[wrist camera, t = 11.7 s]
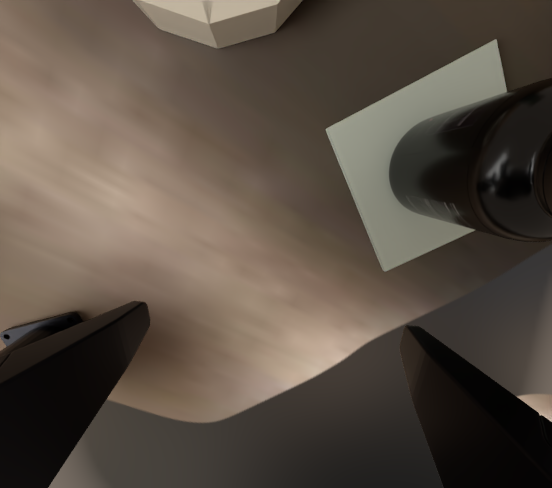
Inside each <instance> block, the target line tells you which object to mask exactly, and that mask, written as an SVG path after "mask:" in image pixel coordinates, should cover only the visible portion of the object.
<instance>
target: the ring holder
mask: <svg viewBox="0 0 552 488" xmlns="http://www.w3.org/2000/svg"><path fill="white" fill-rule="evenodd" d="M302 1H303V0H133V2H134V3H135V4H136V5H137V6H138V7H139V8H140V9H141V10H142V11H143V12H144V13H145V14H146V16H147V17H148V18H149V19H150V20H151V21H152V22H153V23H154V24H155V25H156V26H157V27H158V29H161V30H164V31H167V32H170V33H172V34H175V35H178V36H181V37H184V38H187V39H190V40H193V41H196V42H199V43H202V44H205V45H208V46H211V47H214V48H217V49H220V48H223V47H227V46H230V45H234V44H237V43H240V42H244V41H247V40H251V39H254V38H258V37H261V36H265V35H268V34H272V33H275V32H276V31H277V30H278V28H279V27H280V26H281V25H282V24H283V23H284V22H285V20H286V19H287V18H288V17H289V16H290V15H291V13H292V12H293V11H294V10H295V9H296V8H297V7H298V5H299V4H300V3H301V2H302Z"/></svg>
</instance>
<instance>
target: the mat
mask: <svg viewBox="0 0 552 488" xmlns="http://www.w3.org/2000/svg"><path fill="white" fill-rule="evenodd" d="M505 92H507V89H506V84H505V79H504V74H503V69H502V64H501V59H500V54H499V49H498V44H497V39H496V40H494V41H492V42H490V43H488V44H486V45H484V46H482V47H480V48H478V49H477V50H475V51H473V52H471V53H469V54H467V55H465V56H463V57H461V58H459V59H458V60H456V61H454V62H452V63H450V64H448V65H446V66H444V67H442V68H441V69H439V70H437V71H435V72H433V73H431V74H429V75H427V76H425V77H423V78H422V79H420V80H418V81H416V82H414V83H412V84H410V85H408V86H406V87H405V88H403V89H401V90H399V91H397V92H395V93H393V94H391V95H389V96H387V97H386V98H384V99H382V100H380V101H378V102H376V103H374V104H372V105H370V106H368V107H367V108H365V109H363V110H361V111H359V112H357V113H355V114H353V115H351V116H350V117H348V118H346V119H344V120H342V121H340V122H338V123H336V124H334V125H332V126H331V127H329V128H327V129H325V130H326V132H327V135H328V137H329V140H330V142H331V145H332V147H333V149H334V152H335V154H336V157H337V159H338V162H339V164H340V167H341V169H342V172H343V174H344V177H345V179H346V181H347V184H348V186H349V189H350V191H351V194H352V196H353V199H354V201H355V204H356V206H357V209H358V211H359V213H360V216H361V218H362V221H363V223H364V226H365V228H366V231H367V233H368V236H369V238H370V241H371V243H372V245H373V248H374V250H375V253H376V255H377V258H378V260H379V263H380V265H381V268H382V270H383V271H384V272H386V271H388V270H390V269H393V268H395V267H397V266H399V265H401V264H403V263H406V262H408V261H410V260H412V259H414V258H416V257H418V256H421V255H423V254H425V253H427V252H429V251H431V250H434V249H436V248H438V247H440V246H442V245H444V244H447V243H449V242H451V241H453V240H455V239H457V238H460V237H462V236H464V235H466V234H468V233H470V232H472V231H475V230H474V229H470V228H467V227H463V226H459V225H456V224H452V223H449V222H445V221H441V220H438V219H434V218H430V217H427V216H423V215H420V214H417V213H414V212H412V211H410V210H408V209H407V208H405V207H404V206H403V205H401V203H400V202H399V201H398V200H397V199H396V197H395V196H394V194H393V192H392V189H391V186H390V182H389V165H390V160H391V157H392V154H393V152H394V149H395V147H396V146H397V144H398V142H399V141H400V139H401V138H402V137H403V136H404V135H405V134H406V133H407V132H408V131H409V130H410V129H411V128H412V127H413V126H415V125H416V124H418V123H420V122H421V121H423V120H426V119H428V118H431V117H433V116H436V115H439V114H442V113H445V112H448V111H451V110H454V109H457V108H460V107H463V106H466V105H469V104H472V103H475V102H478V101H481V100H484V99H487V98H490V97H493V96H496V95H499V94H502V93H505Z"/></svg>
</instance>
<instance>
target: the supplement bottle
mask: <svg viewBox="0 0 552 488" xmlns="http://www.w3.org/2000/svg"><path fill="white" fill-rule="evenodd" d="M389 182H390V186H391V189H392V192H393V194H394V196H395V197H396V199H397V200H398V201H399V202H400V203H401V205H403V206H404V207H405V208H407V209H408V210H410V211H412V212H414V213H417V214H420V215H423V216H427V217H430V218H434V219H438V220H441V221H445V222H449V223H452V224H456V225H459V226H463V227H467V228H470V229H474V230H478V231H481V232H485V233H489V234H492V235H496V236H500V237H503V238H507V239H512V240H516V241H522V242H546V241H552V78H549V79H546V80H542V81H539V82H536V83H533V84H530V85H527V86H524V87H520V88H517V89H514V90H511V91H508V92H505V93H502V94H499V95H496V96H493V97H490V98H487V99H484V100H481V101H478V102H475V103H472V104H469V105H466V106H463V107H460V108H457V109H454V110H451V111H448V112H445V113H442V114H439V115H436V116H433V117H431V118H428V119H426V120H423V121H421V122H420V123H418V124H416V125H415V126H413V127H412V128H411V129H410V130H409V131H408V132H407V133H406V134H405V135H404V136H403V137H402V138H401V139H400V141H399V142H398V144H397V146H396V147H395V149H394V152H393V154H392V157H391V160H390V165H389Z"/></svg>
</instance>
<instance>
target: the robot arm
mask: <svg viewBox="0 0 552 488" xmlns="http://www.w3.org/2000/svg"><path fill="white" fill-rule="evenodd" d="M71 318H73V320H72V319H71ZM149 326H150V316H149V311H148V306H147V304H146V303H145V302H141V301H133V302H130V303H128V304H126V305H123V306H121V307H118V308H116V309H114V310H111V311H109V312H106V313H104V314H102V315H99V316H97V317H94V318H92V319H90V320H87V321H85V322H83V321H82V319H81V318H80V316H79V315H78V314H77V313H75V312H70V313H66V314H63V315H59V316H55V317H51V318H47V319H43V320H40V321H36V322H32V323H28V324H24V325H20V326H17V327H13V328H9V329H6V330H5V331H3V332H2V333H1V334H0V337H1V339H2V340H3V342H4V343H5V345H6V346H7V347H6V348H4V349H3V350H1V351H0V488H48V487H49V485H50V484H51V482H52V481H53V479H54V478H55V476H56V475H57V473H58V472H59V470H60V468H61V467H62V466H63V464H64V463H65V461H66V460H67V458H68V457H69V455H70V454H71V452H72V451H73V449H74V448H75V446H76V445H77V443H78V441H79V440H80V438H81V437H82V435H83V434H84V432H85V431H86V429H87V428H88V426H89V425H90V423H91V422H92V420H93V419H94V417H95V416H96V414H97V413H98V411H99V410H100V408H101V407H102V405H103V404H104V402H105V401H106V399H107V398H108V396H109V395H110V393H111V392H112V390H113V389H114V387H115V385H116V384H117V382H118V381H119V379H120V378H121V376H122V375H123V373H124V372H125V370H126V369H127V367H128V365H129V364H130V362H131V360H132V358H133V356H134V355H135V353H136V351H137V349H138V347H139V345H140V343H141V341H142V340H143V338H144V336H145V334H146V332H147V330H148V328H149ZM400 354H401V358H402V362H403V366H404V370H405V375H406V378H407V382H408V387H409V391H410V394H411V398H412V401H413V404H414V407H415V410H416V413H417V416H418V418H419V421H420V424H421V426H422V429H423V432H424V434H425V438H426V440H427V443H428V446H429V449H430V451H431V454H432V457H433V460H434V462H435V465H436V468H437V471H438V474H439V476H440V479H441V482H442V485H443V488H552V422H551V421H549V420H548V419H547V418H545V417H544V416H542V415H539V413H538V412H537V411H535V410H534V409H533V408H531V407H530V406H528V405H527V404H526V403H524V402H523V401H522V400H520V399H519V398H517V397H516V396H515V395H513V394H512V393H511V392H509V391H508V390H506V389H505V388H503V387H502V386H501V385H499V384H498V383H497V382H495V381H494V380H492V379H491V378H490V377H488V376H487V375H486V374H484V373H483V372H482V371H480V370H479V369H477V368H476V367H475V366H473V365H472V364H470V363H469V362H468V361H466V360H465V359H464V358H462V357H461V356H459V355H458V354H457V353H455V352H454V351H452V350H451V349H450V348H448V347H447V346H446V345H444V344H443V343H442V342H440V341H439V340H437V339H436V338H435V337H433V336H432V335H430V334H429V333H428V332H426V331H425V330H424V329H422V328H421V327H419V326H410V325H407V326H405V328H404V330H403V334H402V338H401V342H400Z"/></svg>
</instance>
